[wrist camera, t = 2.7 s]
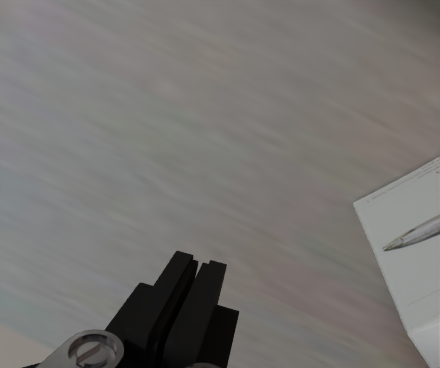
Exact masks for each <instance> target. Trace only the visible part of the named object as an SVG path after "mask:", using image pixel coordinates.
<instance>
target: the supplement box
mask: <svg viewBox="0 0 440 368" xmlns="http://www.w3.org/2000/svg"><path fill="white" fill-rule="evenodd" d="M353 205H354V208H355V211H356V213H357V216H358V218H359V220H360V222H361V224H362V227H363V229H364V231H365V233H366V236H367V238H368V240H369V243H370V245H371V247H372V250H373V252H374V254H375V257H376V259H377V262H378V264H379V267H380V269H381V272H382V274H383V277H384V279H385V282H386V284H387V287H388V289H389V292H390V294H391V296H392V298H393V301H394V303H395V306H396V308H397V311H398V313H399V316H400V318H401V321H402V323H403V326H404V328H405V330H406V332H407V334H408V336H409V338H410V339H411V340H412V342H413V343H414V345H415V346H416V348H417V349H418V351H419V353H420V354H421V356H422V357H423V359H424V360H425V362H426V363H427V365H428V367H429V368H440V157H438V158H436V159H435V160H433V161H431V162H429V163H427V164H426V165H424V166H422V167H420V168H419V169H417V170H415V171H413V172H411V173H409V174H408V175H406V176H404V177H402V178H400V179H398V180H396V181H394V182H392V183H391V184H389V185H387V186H385V187H383V188H381V189H379V190H377V191H376V192H374V193H372V194H370V195H368V196H366V197H363V198H361V199H359V200H357V201H355V202H354V203H353Z"/></svg>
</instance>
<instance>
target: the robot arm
mask: <svg viewBox="0 0 440 368" xmlns="http://www.w3.org/2000/svg"><path fill="white" fill-rule="evenodd" d="M226 266H227V264H223V263H219V262H216V261H212V260H210V262H209V264H206V263H202V266H201V268H200V270H199V272H198V274H197V276H196V271H197V267H198V261H196V260H193V255H191V254H187V253H184V252H180V251H176V252H175V254H174V255H173V257H172V258H171V260H170V261H169V263H168V265H167V266H166V268H165V269H164V271H163V272H162V274H161V275H160V277H159V278H158V280H157V281H156V283H155V284H154V286H152V285H148V284H145V283H139V284H138V286H137V287H136V288H135V290H134V291H133V292H132V294H131V295H130V296H129V298H128V299H127V300H126V302H125V303H124V304H123V306H122V307H121V309H120V310H119V311H118V313H117V314H116V315H115V317H114V318H113V319H112V321H111V322H110V323H109V325H108V326H107V328H106V329H105V330H94V329H93V330H86V331H82V332H80V333H77V334H75V335H73V336H72V337H70V338H69V339H68V340H66V341H65V342H64V343H63V344H62V345H61V346H60V347H58V348H57V349H56V350H55V351H54V352H53V353H52V354H51V355H49V356H48V357H47V358H46V359H45V360H44V361H43V362H41V363H38V364H34V365H30V366H27V367H23V368H227V364H228V360H229V355H230V351H231V346H232V342H233V338H234V333H235V329H236V324H237V320H238V315H239V311H237V310H233V309H230V308H226V307H223V306H220V305H217V304H218V300H219V296H220V292H221V288H222V284H223V279H224V275H225V271H226ZM195 276H196V278H195Z"/></svg>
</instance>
